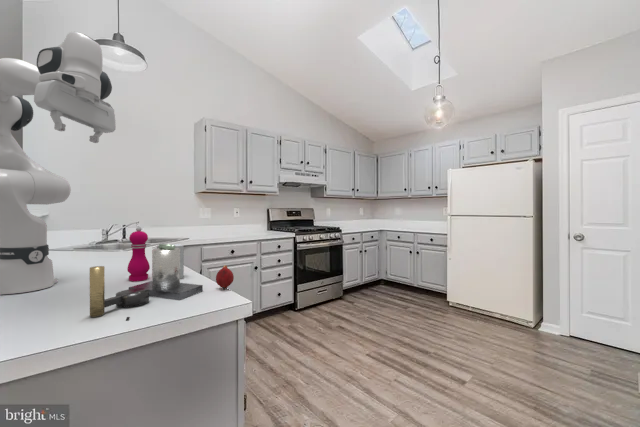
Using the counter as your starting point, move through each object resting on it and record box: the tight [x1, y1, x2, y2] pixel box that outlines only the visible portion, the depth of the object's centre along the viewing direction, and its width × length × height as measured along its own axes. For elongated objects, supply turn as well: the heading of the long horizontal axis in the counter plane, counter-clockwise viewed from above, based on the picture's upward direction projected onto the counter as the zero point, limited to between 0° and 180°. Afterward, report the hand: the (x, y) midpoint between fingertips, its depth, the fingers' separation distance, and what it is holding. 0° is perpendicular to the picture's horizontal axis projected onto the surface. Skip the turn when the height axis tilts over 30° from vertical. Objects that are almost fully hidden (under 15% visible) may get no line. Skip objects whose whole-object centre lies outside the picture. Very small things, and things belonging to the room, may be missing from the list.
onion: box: [215, 264, 235, 289], centre depth 101 cm, size 6×6×8 cm
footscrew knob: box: [89, 265, 150, 318], centre depth 80 cm, size 8×16×12 cm, turn 163°
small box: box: [156, 243, 185, 280], centre depth 114 cm, size 8×6×13 cm
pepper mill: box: [126, 226, 151, 283], centre depth 112 cm, size 7×7×20 cm
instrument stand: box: [125, 243, 204, 321], centre depth 87 cm, size 20×27×16 cm
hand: (77, 136), depth 83 cm, fingers open, 8 cm apart
